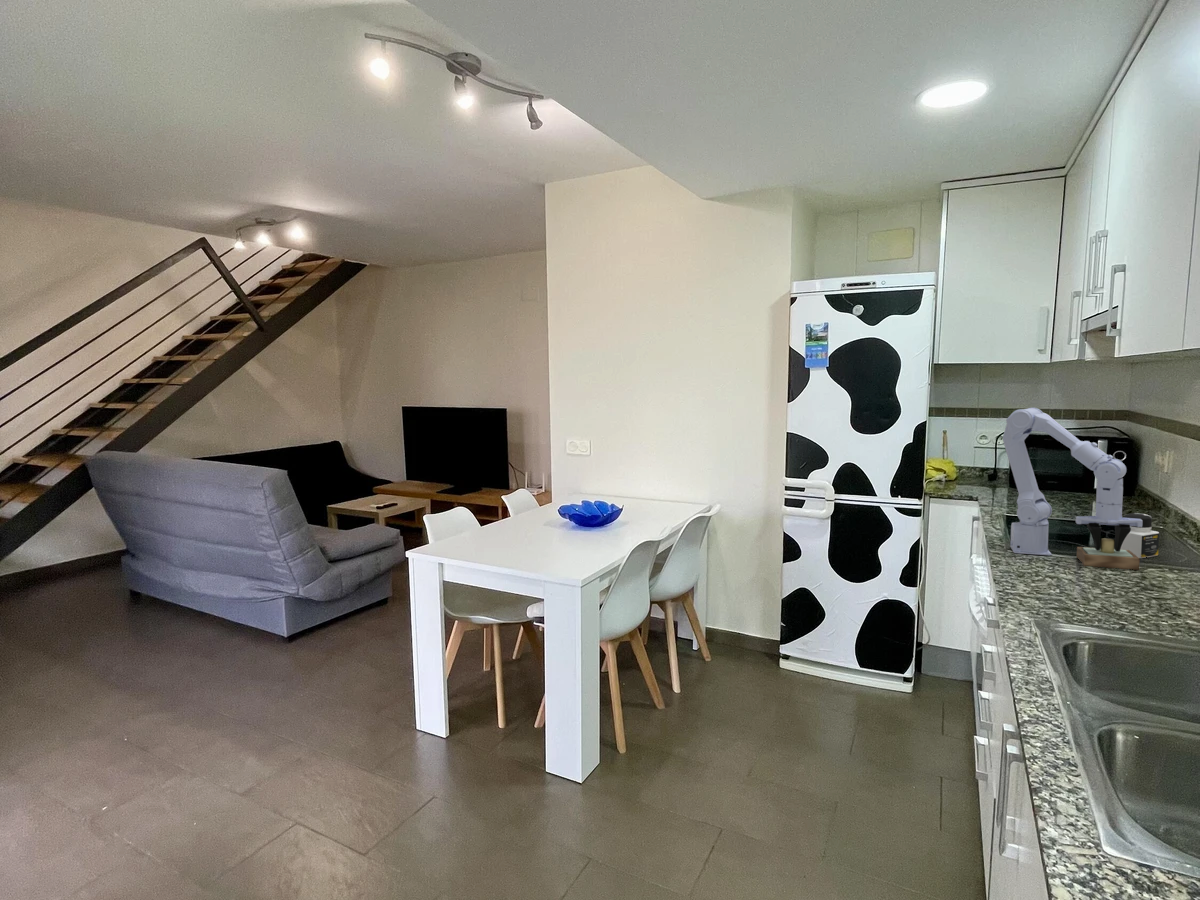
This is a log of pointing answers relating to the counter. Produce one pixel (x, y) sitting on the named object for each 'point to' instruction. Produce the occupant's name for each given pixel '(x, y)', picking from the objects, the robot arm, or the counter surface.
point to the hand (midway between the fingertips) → (1107, 550)
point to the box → (1108, 560)
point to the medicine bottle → (1141, 538)
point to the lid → (1107, 549)
